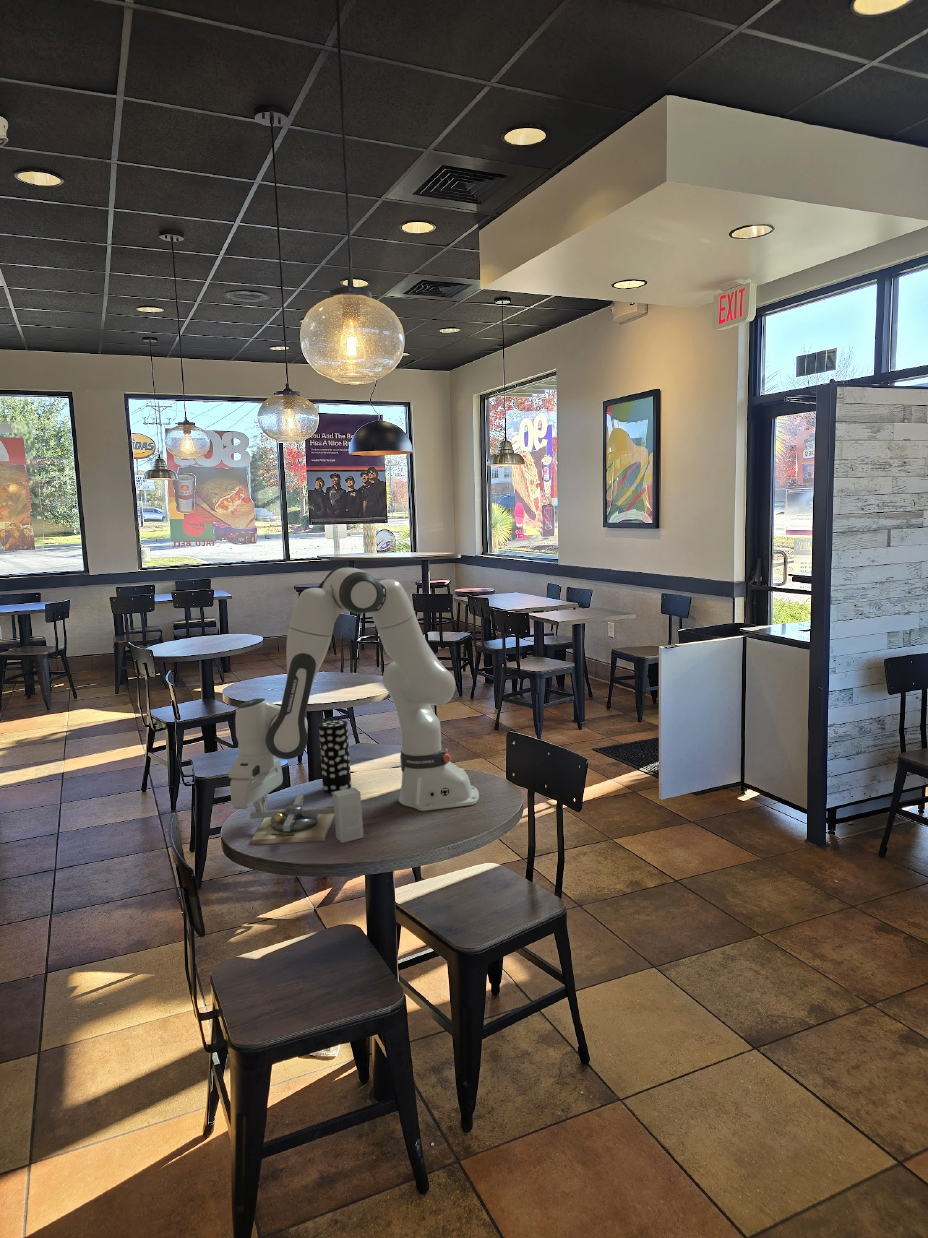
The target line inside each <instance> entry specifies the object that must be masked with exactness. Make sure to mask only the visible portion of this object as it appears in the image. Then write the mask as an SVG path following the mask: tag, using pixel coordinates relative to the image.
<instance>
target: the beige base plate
mask: <svg viewBox="0 0 928 1238" xmlns="http://www.w3.org/2000/svg"><path fill="white" fill-rule="evenodd" d="M271 818H272V817H267V818H263V820H262V822H261V824H260V825H259V827H258V828H257V830H256V832H255V833H254V835H253V836H252V838H251V845H266V844H283V843H284V844H286V843H305V842H308V843H309V842H321V841H324V842H325V841H326V838H327V836H328V833H329V830H330V828H331V825H332V823H333V820H334V819H335V816H334V814H318V823H317V824H316V825H314V826H313V827H311V828H308V829H305V830H301V831H296V832H280V831H276V830H274V829H272V828H271Z"/></svg>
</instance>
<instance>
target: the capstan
mask: <svg viewBox="0 0 928 1238" xmlns="http://www.w3.org/2000/svg"><path fill="white" fill-rule="evenodd" d="M304 800H305V796H304V794H297V796H296V797H295V800H294V801H293V804H290V805H286V806H285V808H281V809H277V808H276V809H265V810H262V811H261V810H260V811H256V810H251V811H250V813H249V815H250V819H264V818H267V817H272V818H271V828H272V829H274V830H276V831H280V832H296V831H301V830H305V829H308V828H311V827H313V826H314V825H316V824H317V823H318V814H334V805H331V806H329V805H328V806H317V807H315V806H314V807H313V806H312V807H303V802H304Z"/></svg>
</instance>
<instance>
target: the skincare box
mask: <svg viewBox="0 0 928 1238" xmlns="http://www.w3.org/2000/svg"><path fill="white" fill-rule="evenodd" d="M361 797H362V796H361V791H360V790H358V789H357V788H356V787H354V786H353V787H351V788H350V789H345V790H340V791H335V792H333V794H332V801H333V802H332V803H333V806H334V824H335V825H334V826H335V837H336V839H337V840H338V841H339V842H340V843H348V842H351V841H355V840H358V839H363V838H364V837H365V836H364V825H363V824H364V823H363V809H362V799H361Z"/></svg>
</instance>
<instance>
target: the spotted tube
mask: <svg viewBox="0 0 928 1238" xmlns="http://www.w3.org/2000/svg"><path fill="white" fill-rule="evenodd" d="M318 734H319V735H318V736H319V737H318V738H319V750H320V751H319V752H320V765H321V779H322V781H321V783H322V792H323V793H325V794H327V795H333V792H335V791H340V790H345V789H350V788H352V779H351V778H352V775H351V760H350V759H351V758H350V743H349V742H350V741H349V729H348V721H346V720H342V719H330V720H325V721H322V722H321V721H320V722H319V723H318Z"/></svg>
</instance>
